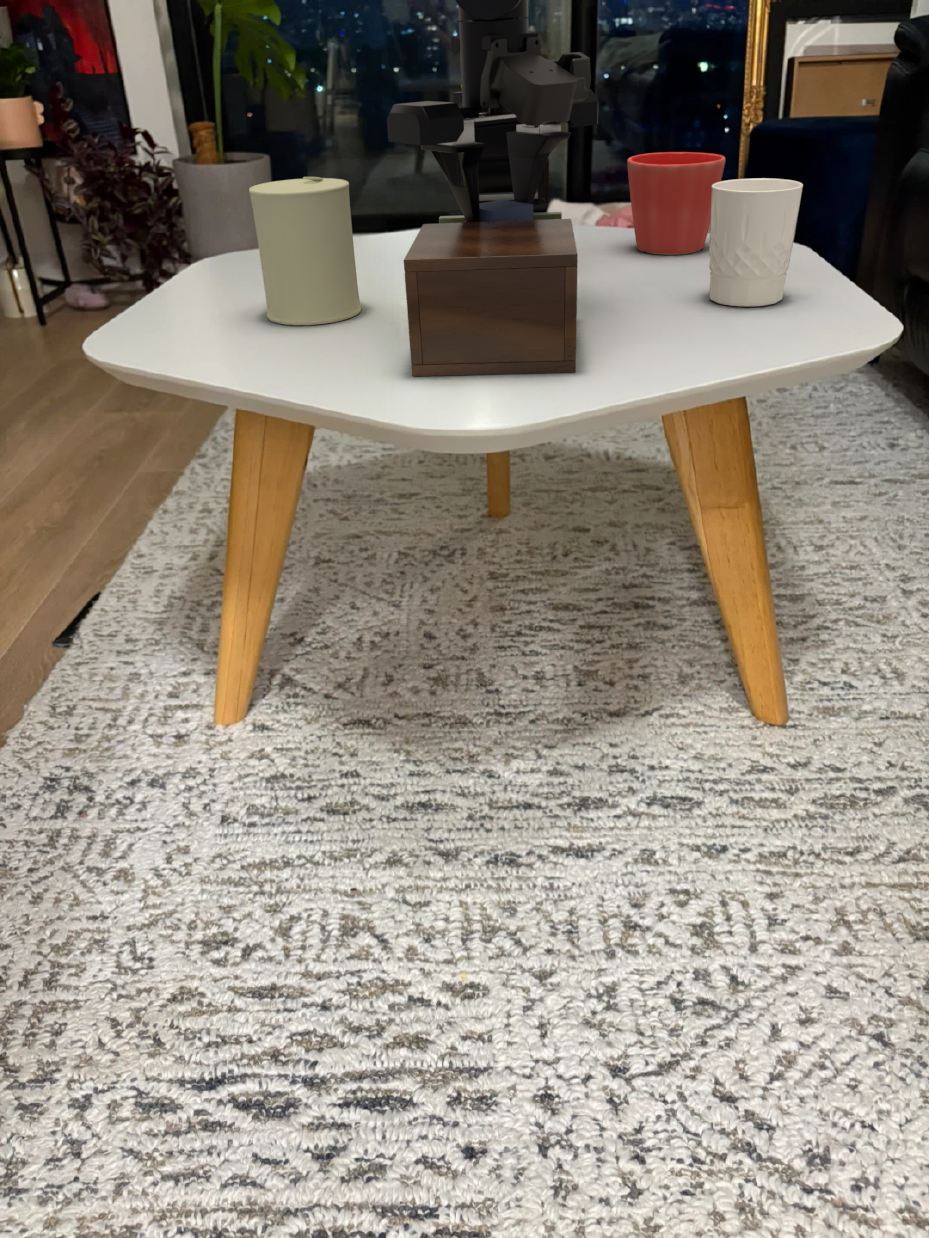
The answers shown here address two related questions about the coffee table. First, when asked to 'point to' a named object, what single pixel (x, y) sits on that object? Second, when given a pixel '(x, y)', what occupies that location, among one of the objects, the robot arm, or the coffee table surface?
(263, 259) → the can
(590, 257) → the coffee table surface
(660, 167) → the flower pot
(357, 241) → the coffee table surface
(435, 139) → the robot arm
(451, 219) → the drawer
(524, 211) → the block
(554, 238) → the cabinet
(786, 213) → the white cup
